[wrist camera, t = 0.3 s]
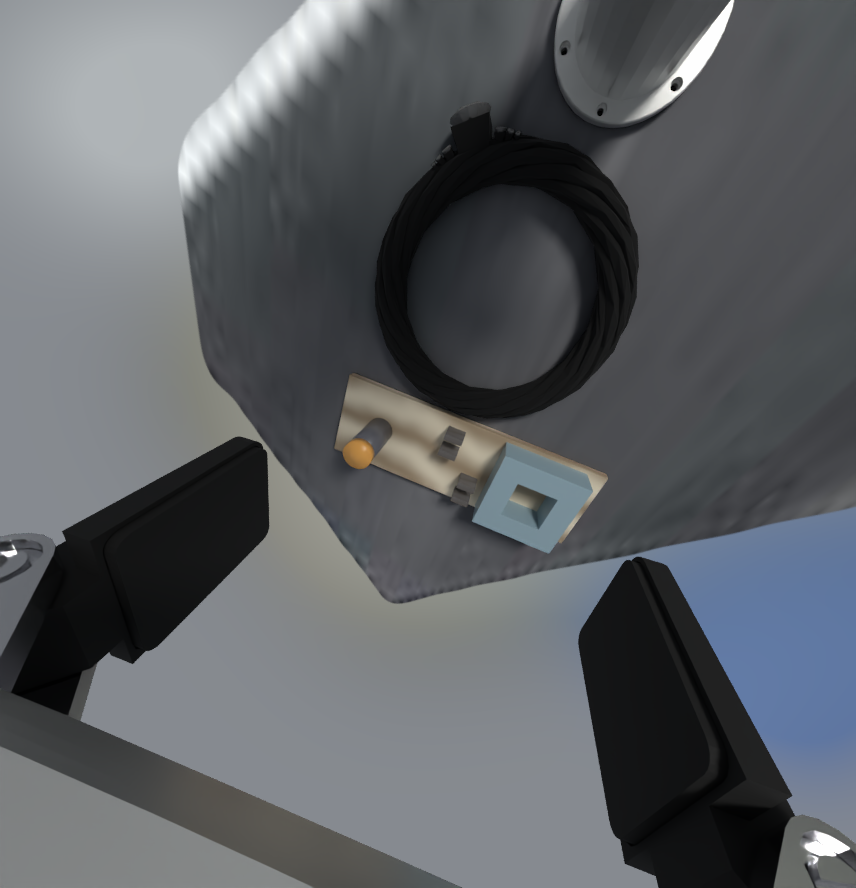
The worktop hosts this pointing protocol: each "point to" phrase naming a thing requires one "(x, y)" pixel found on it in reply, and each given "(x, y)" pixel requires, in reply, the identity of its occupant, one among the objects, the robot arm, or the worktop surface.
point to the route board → (440, 445)
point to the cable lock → (522, 166)
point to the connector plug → (367, 443)
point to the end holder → (540, 475)
